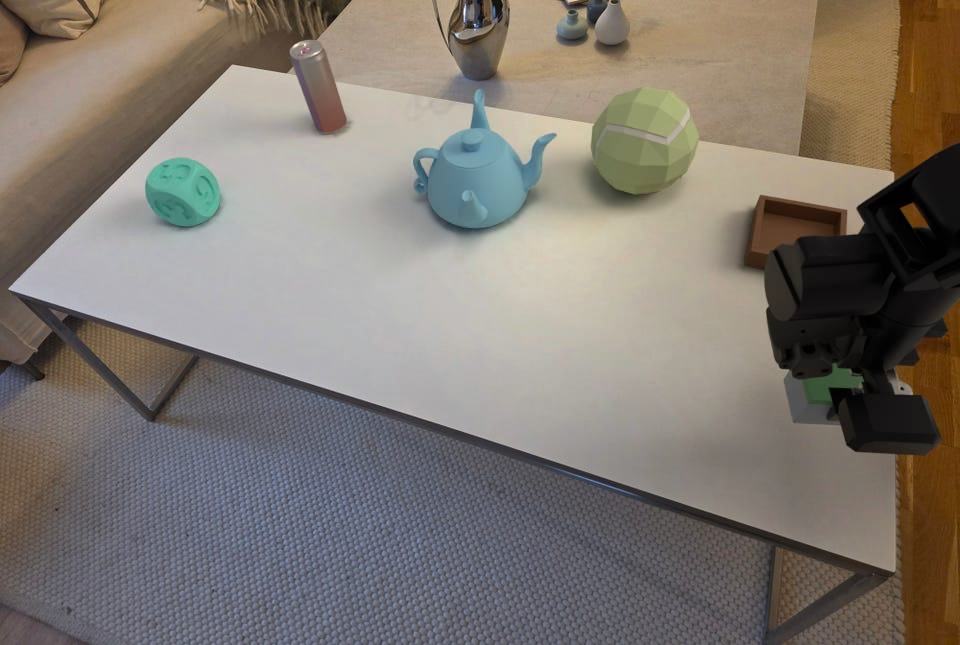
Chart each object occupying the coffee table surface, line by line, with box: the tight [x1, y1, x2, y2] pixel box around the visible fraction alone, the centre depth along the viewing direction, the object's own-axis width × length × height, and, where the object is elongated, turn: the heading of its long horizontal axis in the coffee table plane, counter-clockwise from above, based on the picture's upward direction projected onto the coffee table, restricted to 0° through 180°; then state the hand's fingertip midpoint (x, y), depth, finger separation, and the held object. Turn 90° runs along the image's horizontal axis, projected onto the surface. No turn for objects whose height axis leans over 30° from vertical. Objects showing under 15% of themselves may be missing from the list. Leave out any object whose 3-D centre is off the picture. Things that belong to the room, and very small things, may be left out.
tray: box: [744, 194, 848, 271], centre depth 82 cm, size 12×12×3 cm
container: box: [782, 363, 864, 426], centre depth 57 cm, size 6×5×5 cm
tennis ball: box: [590, 86, 700, 196], centre depth 88 cm, size 15×15×15 cm
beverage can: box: [289, 39, 347, 135], centre depth 104 cm, size 6×6×15 cm
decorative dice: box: [144, 156, 221, 227], centre depth 96 cm, size 8×8×8 cm
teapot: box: [412, 88, 558, 229], centre depth 89 cm, size 17×19×12 cm
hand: (825, 394), depth 58 cm, fingers closed on container, 5 cm apart
